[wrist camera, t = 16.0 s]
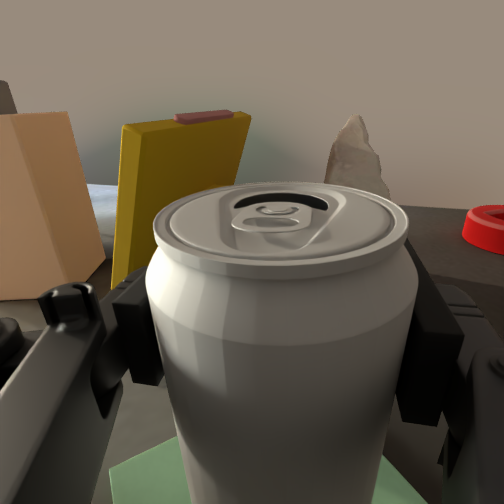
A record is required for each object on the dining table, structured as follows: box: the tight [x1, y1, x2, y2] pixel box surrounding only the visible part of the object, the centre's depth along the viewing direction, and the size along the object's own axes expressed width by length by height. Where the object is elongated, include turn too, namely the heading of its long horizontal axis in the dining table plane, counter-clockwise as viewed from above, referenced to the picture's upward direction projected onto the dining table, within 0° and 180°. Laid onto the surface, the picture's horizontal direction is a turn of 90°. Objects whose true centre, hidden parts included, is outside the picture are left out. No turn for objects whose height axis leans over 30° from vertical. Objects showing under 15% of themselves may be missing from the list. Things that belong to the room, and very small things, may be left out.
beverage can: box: [146, 182, 418, 504], centre depth 10 cm, size 6×6×12 cm
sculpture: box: [324, 114, 391, 201], centre depth 26 cm, size 17×5×15 cm, turn 175°
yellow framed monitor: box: [111, 110, 251, 290], centre depth 30 cm, size 20×8×16 cm, turn 162°
